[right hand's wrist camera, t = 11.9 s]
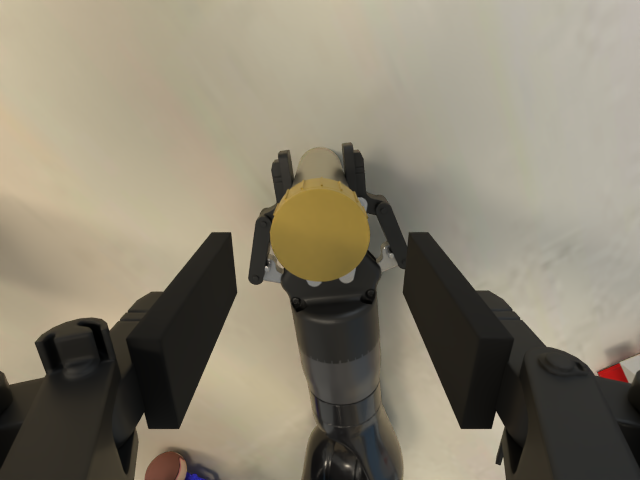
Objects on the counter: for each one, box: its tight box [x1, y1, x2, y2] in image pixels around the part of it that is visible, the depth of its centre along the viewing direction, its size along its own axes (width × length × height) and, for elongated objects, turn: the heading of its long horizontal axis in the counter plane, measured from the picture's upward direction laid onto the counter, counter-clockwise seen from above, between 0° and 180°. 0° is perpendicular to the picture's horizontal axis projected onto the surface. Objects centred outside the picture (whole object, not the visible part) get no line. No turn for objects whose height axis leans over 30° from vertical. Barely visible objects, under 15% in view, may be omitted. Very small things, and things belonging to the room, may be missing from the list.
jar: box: [291, 147, 349, 188], centre depth 25 cm, size 4×4×17 cm
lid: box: [270, 177, 370, 282], centre depth 18 cm, size 5×5×2 cm
